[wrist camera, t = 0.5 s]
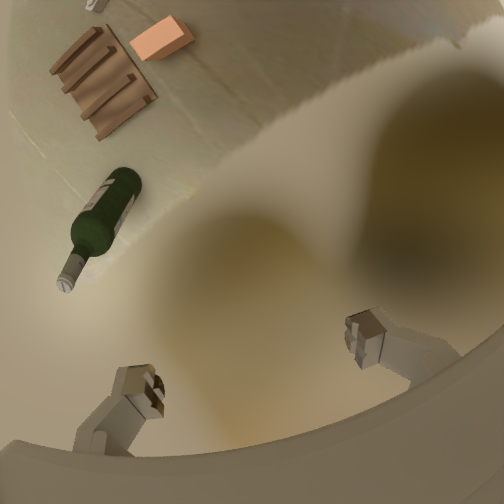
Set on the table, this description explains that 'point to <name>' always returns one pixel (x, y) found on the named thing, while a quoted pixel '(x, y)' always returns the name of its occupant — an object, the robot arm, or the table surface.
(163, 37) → the salmon rectangular prism
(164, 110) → the table surface
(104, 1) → the lighter
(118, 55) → the rack
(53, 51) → the table surface
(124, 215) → the wine bottle
